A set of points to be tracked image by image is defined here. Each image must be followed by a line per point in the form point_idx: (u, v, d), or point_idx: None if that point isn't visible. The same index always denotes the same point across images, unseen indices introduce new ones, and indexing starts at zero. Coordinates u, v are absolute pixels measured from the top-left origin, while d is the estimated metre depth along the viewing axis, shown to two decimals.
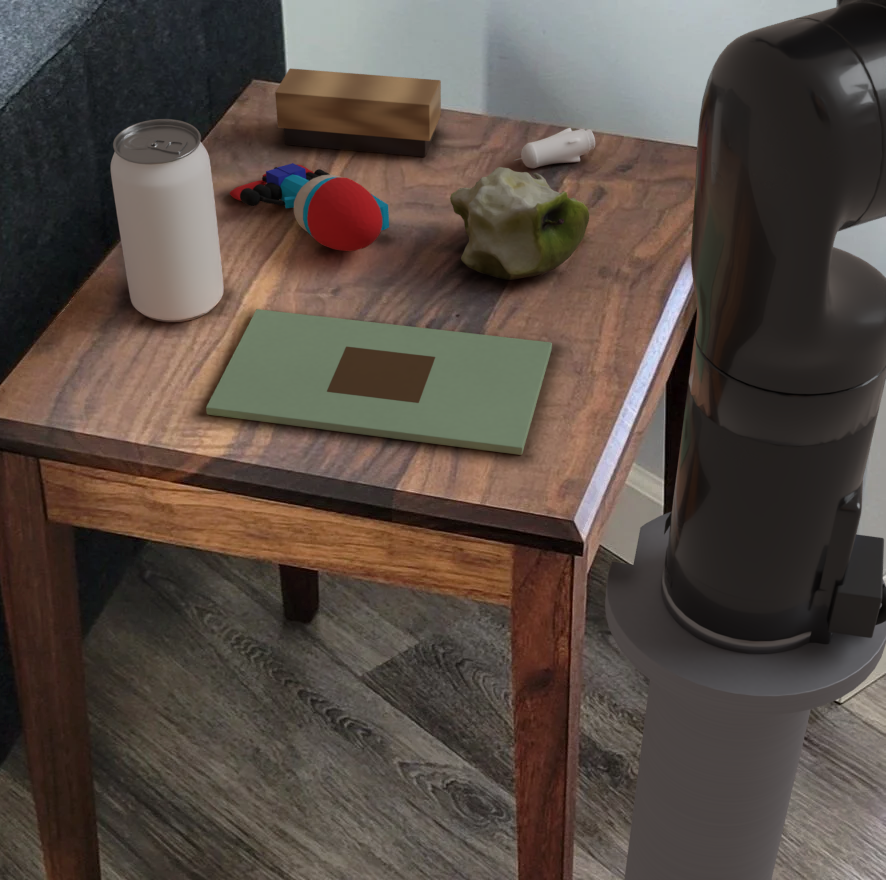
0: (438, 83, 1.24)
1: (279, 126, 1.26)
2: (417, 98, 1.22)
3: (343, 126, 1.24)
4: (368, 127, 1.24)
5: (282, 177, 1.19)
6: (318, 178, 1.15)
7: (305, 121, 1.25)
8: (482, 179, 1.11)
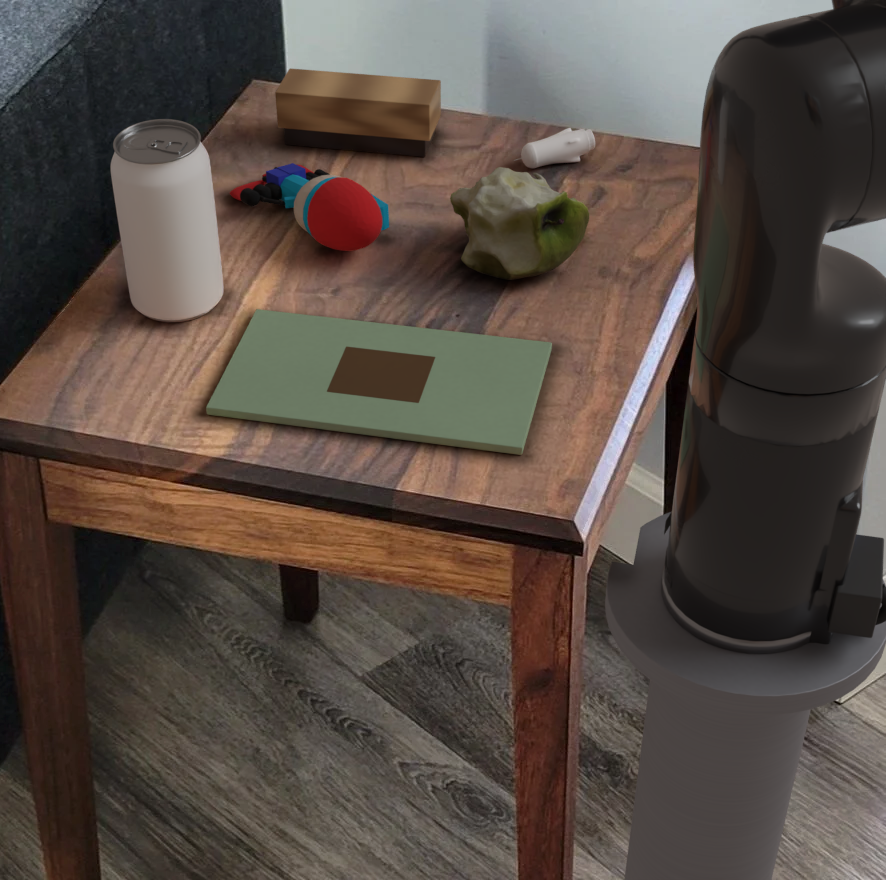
0: (438, 83, 1.24)
1: (279, 126, 1.26)
2: (417, 98, 1.22)
3: (343, 126, 1.24)
4: (368, 127, 1.24)
5: (282, 177, 1.19)
6: (318, 178, 1.15)
7: (305, 121, 1.25)
8: (482, 179, 1.11)
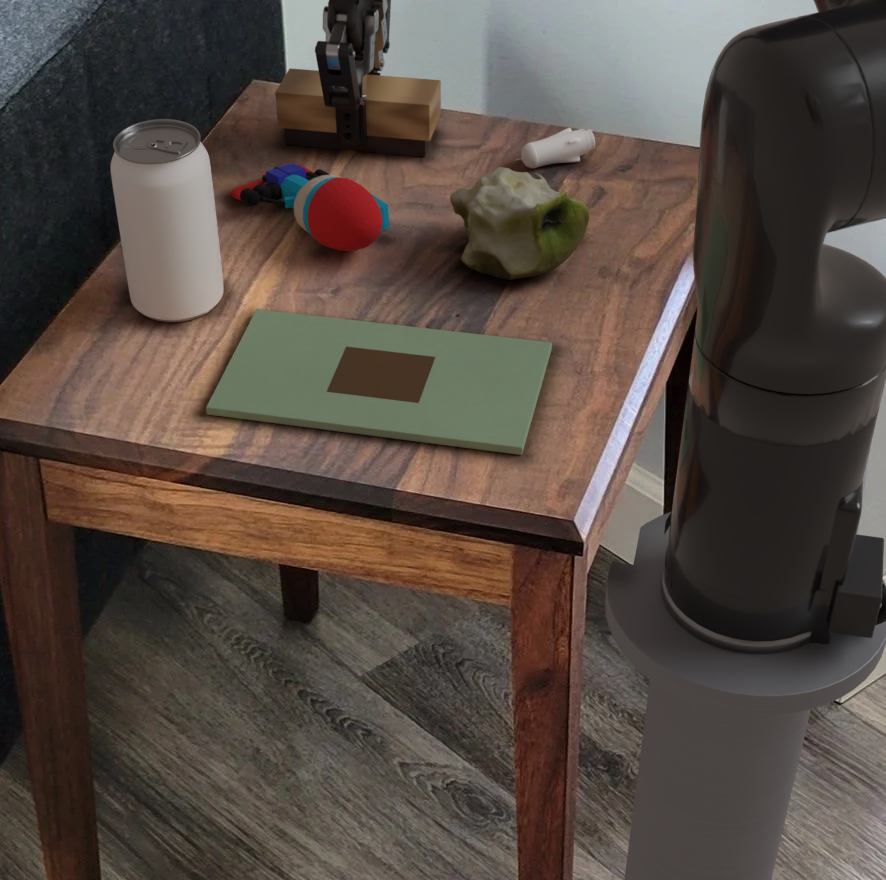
0: (438, 83, 1.24)
1: (279, 126, 1.26)
2: (417, 98, 1.22)
3: None
4: (368, 127, 1.24)
5: (282, 177, 1.19)
6: (318, 178, 1.15)
7: (305, 121, 1.25)
8: (482, 179, 1.11)
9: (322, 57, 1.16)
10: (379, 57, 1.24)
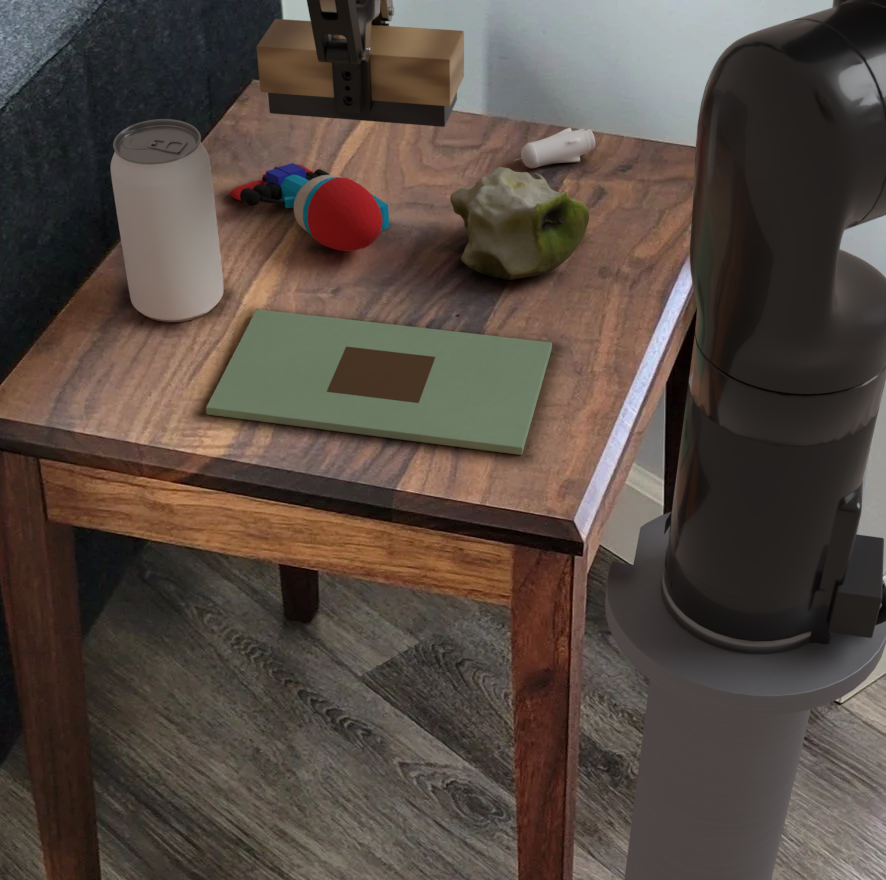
0: (461, 34, 0.99)
1: (262, 90, 1.01)
2: (435, 51, 0.97)
3: None
4: (373, 89, 0.99)
5: (282, 177, 1.19)
6: (318, 178, 1.15)
7: (294, 83, 1.00)
8: (482, 179, 1.11)
9: None
10: (387, 3, 0.99)
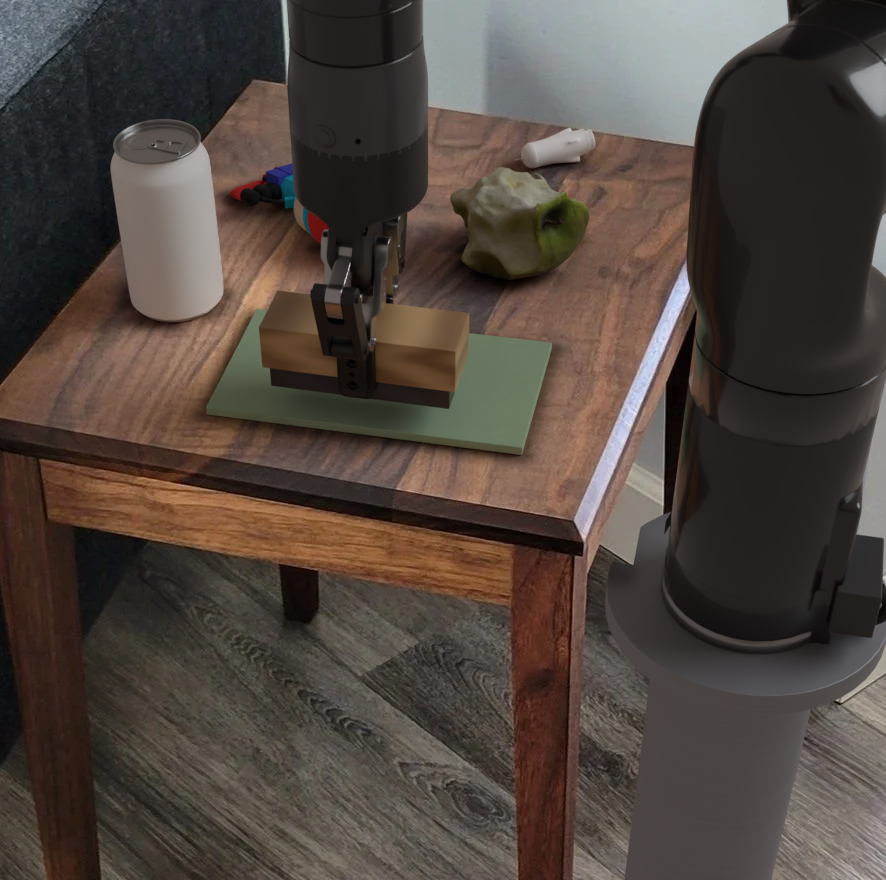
0: (466, 318, 0.97)
1: (264, 366, 0.99)
2: (440, 340, 0.96)
3: None
4: (377, 373, 0.97)
5: (282, 177, 1.19)
6: None
7: (297, 362, 0.98)
8: (482, 179, 1.11)
9: (320, 304, 0.89)
10: (392, 283, 0.98)
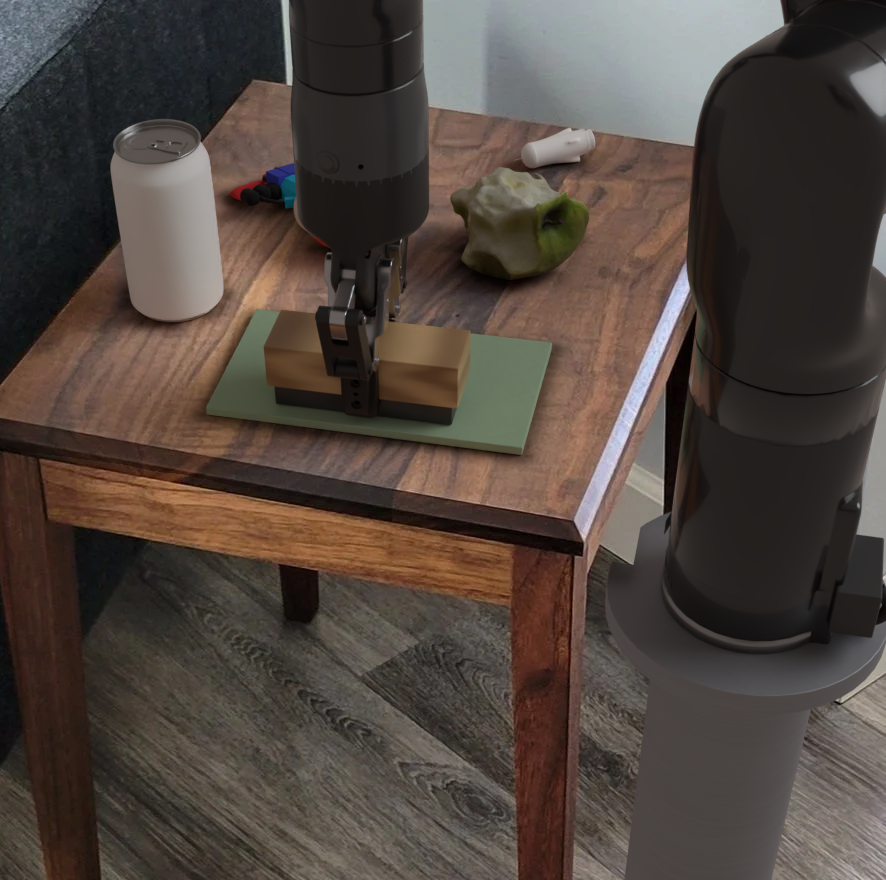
0: (468, 335, 0.99)
1: (268, 384, 1.01)
2: (442, 357, 0.97)
3: None
4: (380, 390, 0.99)
5: (282, 177, 1.19)
6: None
7: (301, 380, 1.00)
8: (482, 179, 1.11)
9: (324, 326, 0.91)
10: (394, 303, 0.99)
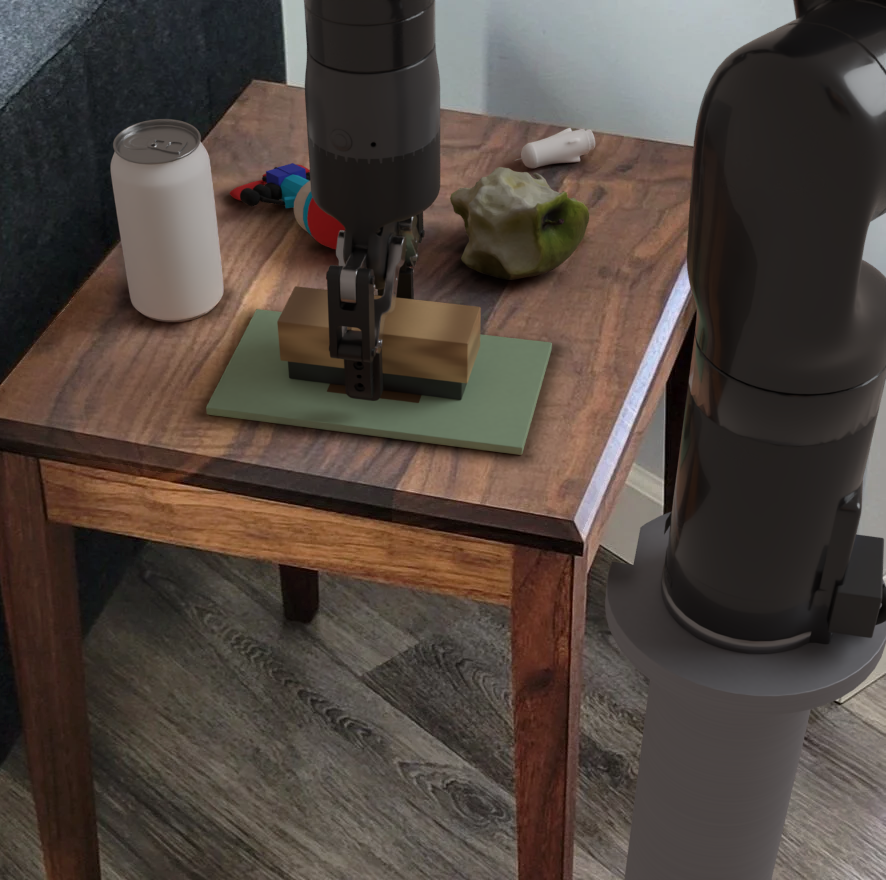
0: (478, 311, 1.01)
1: (282, 359, 1.03)
2: (453, 333, 0.99)
3: None
4: (391, 365, 1.01)
5: (282, 177, 1.19)
6: None
7: (314, 355, 1.02)
8: (482, 179, 1.11)
9: (335, 283, 0.92)
10: (412, 258, 1.02)
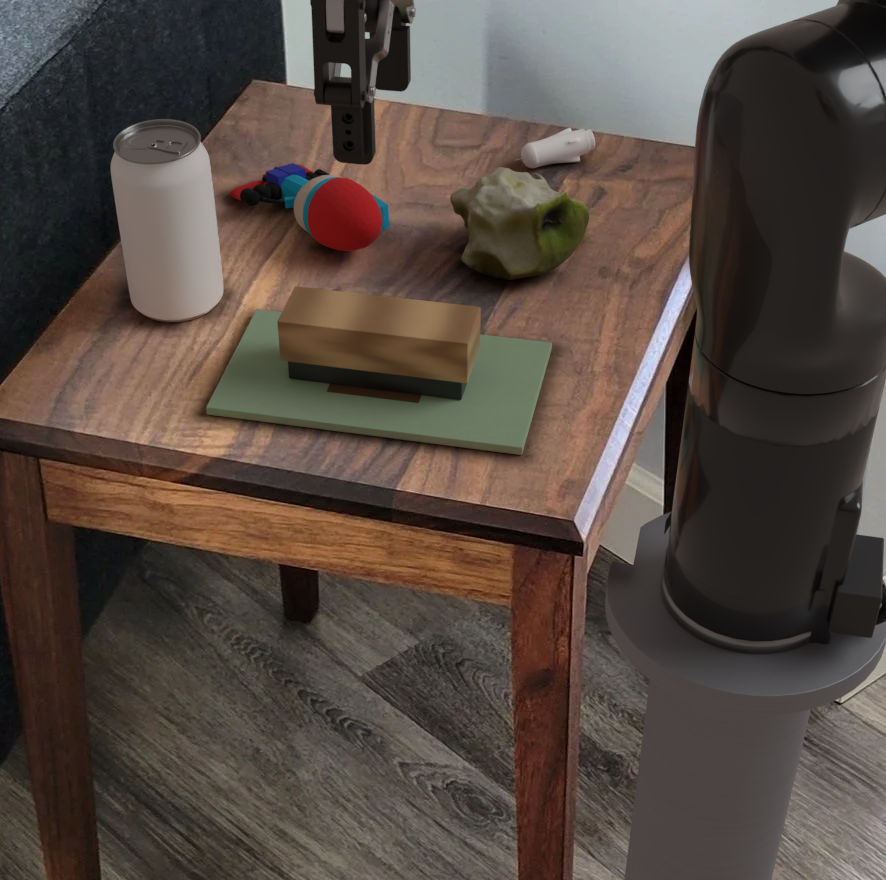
0: (478, 311, 1.01)
1: (282, 359, 1.03)
2: (453, 333, 0.99)
3: (360, 362, 1.01)
4: (391, 365, 1.01)
5: (282, 177, 1.19)
6: (318, 178, 1.15)
7: (314, 355, 1.02)
8: (482, 179, 1.11)
9: (320, 8, 0.81)
10: (408, 11, 0.91)
